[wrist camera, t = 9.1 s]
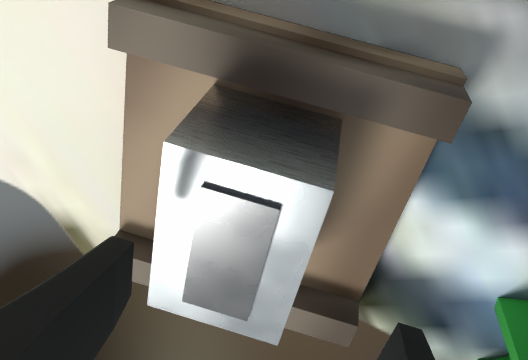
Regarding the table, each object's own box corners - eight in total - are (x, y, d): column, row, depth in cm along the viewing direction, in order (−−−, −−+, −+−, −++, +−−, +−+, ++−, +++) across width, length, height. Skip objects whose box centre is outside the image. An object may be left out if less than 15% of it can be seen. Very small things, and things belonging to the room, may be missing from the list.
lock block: (342, 119, 17) (333, 195, 12) (295, 255, 20) (276, 349, 16) (214, 83, 17) (161, 144, 12) (191, 224, 21) (145, 309, 16)
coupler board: (460, 68, 16) (475, 94, 14) (348, 307, 23) (346, 350, 21) (143, -18, 17) (108, -6, 14) (129, 241, 24) (103, 276, 21)
